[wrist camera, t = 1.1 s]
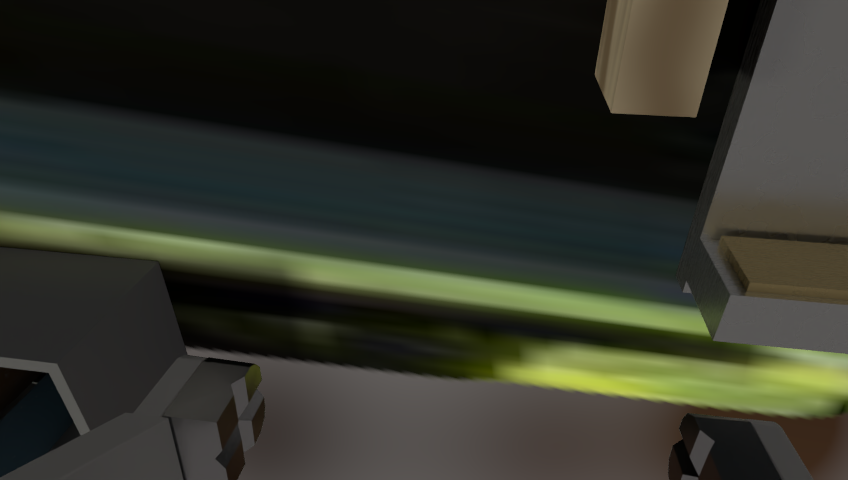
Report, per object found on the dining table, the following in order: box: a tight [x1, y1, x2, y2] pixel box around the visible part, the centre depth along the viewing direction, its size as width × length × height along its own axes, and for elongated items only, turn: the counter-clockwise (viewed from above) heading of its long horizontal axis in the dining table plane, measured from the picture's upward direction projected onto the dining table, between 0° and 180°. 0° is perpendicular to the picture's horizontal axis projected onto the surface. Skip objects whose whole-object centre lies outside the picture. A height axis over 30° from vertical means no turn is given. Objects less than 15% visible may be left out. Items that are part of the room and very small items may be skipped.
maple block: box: [595, 0, 729, 117], centre depth 27 cm, size 4×8×7 cm, turn 0°
